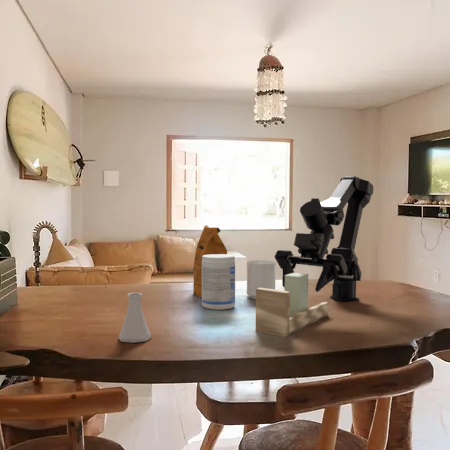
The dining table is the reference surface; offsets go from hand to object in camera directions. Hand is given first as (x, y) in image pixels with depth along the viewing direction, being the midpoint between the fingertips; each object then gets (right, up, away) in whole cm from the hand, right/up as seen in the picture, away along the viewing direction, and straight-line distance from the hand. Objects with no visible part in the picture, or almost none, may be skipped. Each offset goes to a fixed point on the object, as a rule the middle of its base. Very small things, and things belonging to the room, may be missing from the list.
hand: (299, 288), depth 120 cm
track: (-1, -8, -1) cm, 8 cm away
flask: (-39, -9, -16) cm, 43 cm away
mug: (-8, -7, +29) cm, 31 cm away
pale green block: (-1, -8, -1) cm, 8 cm away
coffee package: (-24, -6, +31) cm, 39 cm away
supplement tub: (-21, -7, +15) cm, 27 cm away
